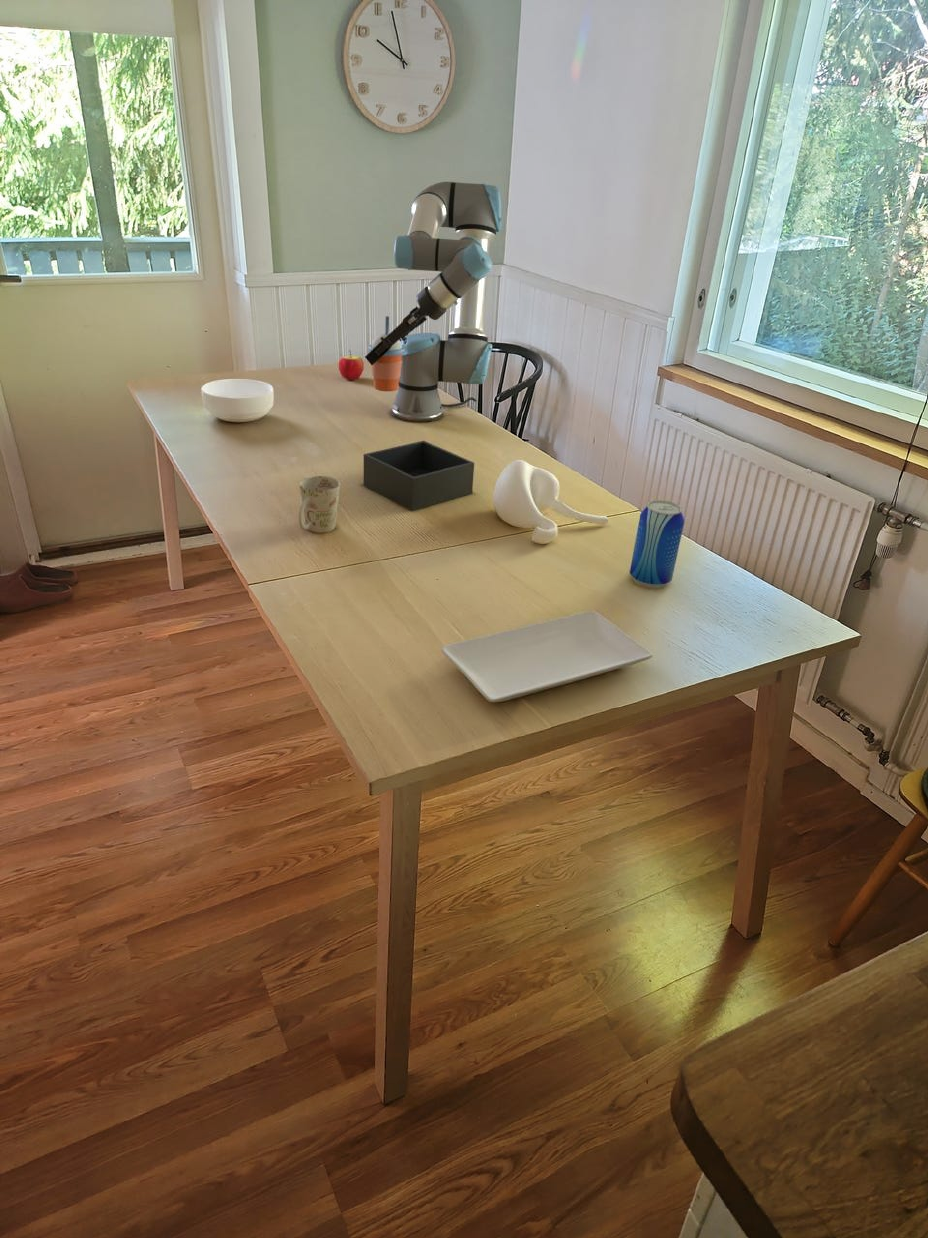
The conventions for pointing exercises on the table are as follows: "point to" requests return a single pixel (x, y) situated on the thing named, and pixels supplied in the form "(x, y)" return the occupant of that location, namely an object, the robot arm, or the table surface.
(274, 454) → the table surface
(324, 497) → the mug
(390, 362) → the cup with straw
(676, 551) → the beer can
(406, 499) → the bin
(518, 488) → the stomach
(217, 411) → the bowl
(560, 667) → the tray
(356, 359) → the apple
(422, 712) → the table surface
